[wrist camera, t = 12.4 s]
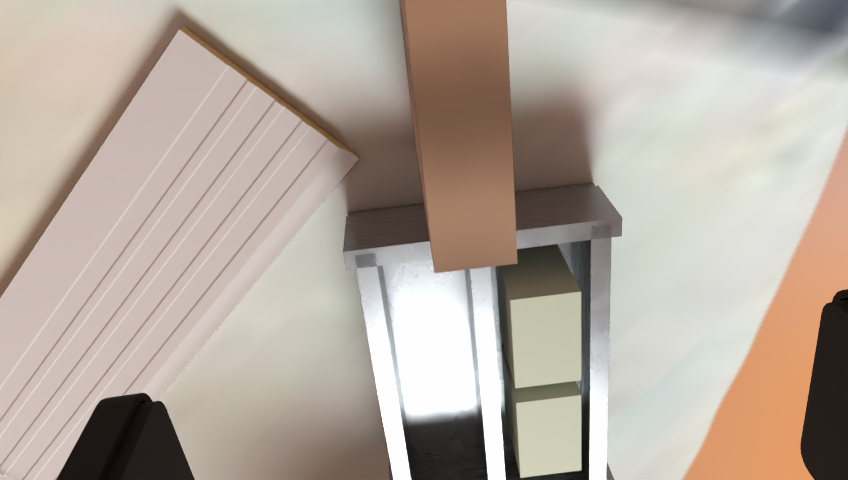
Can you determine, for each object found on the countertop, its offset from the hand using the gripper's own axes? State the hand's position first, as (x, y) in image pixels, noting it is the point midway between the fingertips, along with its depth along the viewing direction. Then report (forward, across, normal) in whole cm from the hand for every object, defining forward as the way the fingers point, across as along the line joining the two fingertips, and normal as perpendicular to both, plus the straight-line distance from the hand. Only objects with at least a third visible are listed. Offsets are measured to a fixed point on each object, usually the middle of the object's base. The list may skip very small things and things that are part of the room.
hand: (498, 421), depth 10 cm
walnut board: (+27, -1, 0) cm, 27 cm away
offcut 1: (+26, -5, +14) cm, 30 cm away
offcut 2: (+26, -4, +21) cm, 33 cm away
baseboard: (+28, +18, +12) cm, 35 cm away
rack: (+27, -2, +18) cm, 32 cm away
